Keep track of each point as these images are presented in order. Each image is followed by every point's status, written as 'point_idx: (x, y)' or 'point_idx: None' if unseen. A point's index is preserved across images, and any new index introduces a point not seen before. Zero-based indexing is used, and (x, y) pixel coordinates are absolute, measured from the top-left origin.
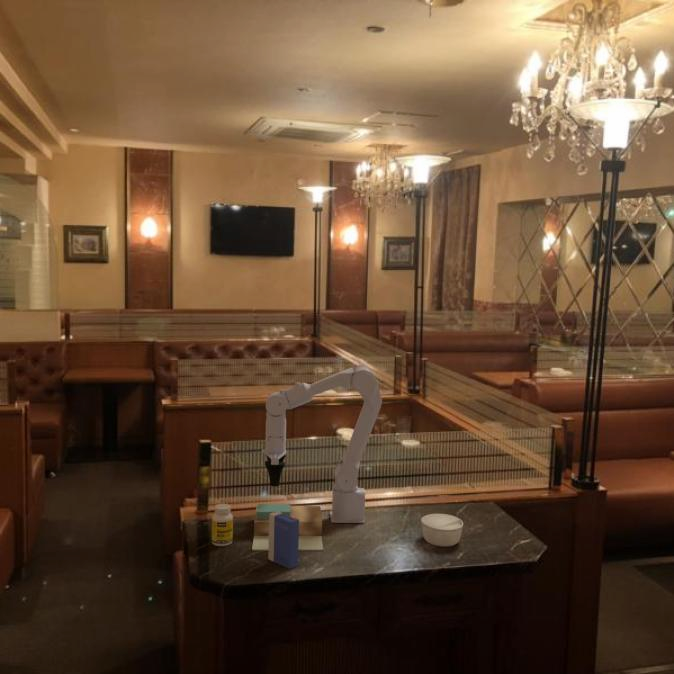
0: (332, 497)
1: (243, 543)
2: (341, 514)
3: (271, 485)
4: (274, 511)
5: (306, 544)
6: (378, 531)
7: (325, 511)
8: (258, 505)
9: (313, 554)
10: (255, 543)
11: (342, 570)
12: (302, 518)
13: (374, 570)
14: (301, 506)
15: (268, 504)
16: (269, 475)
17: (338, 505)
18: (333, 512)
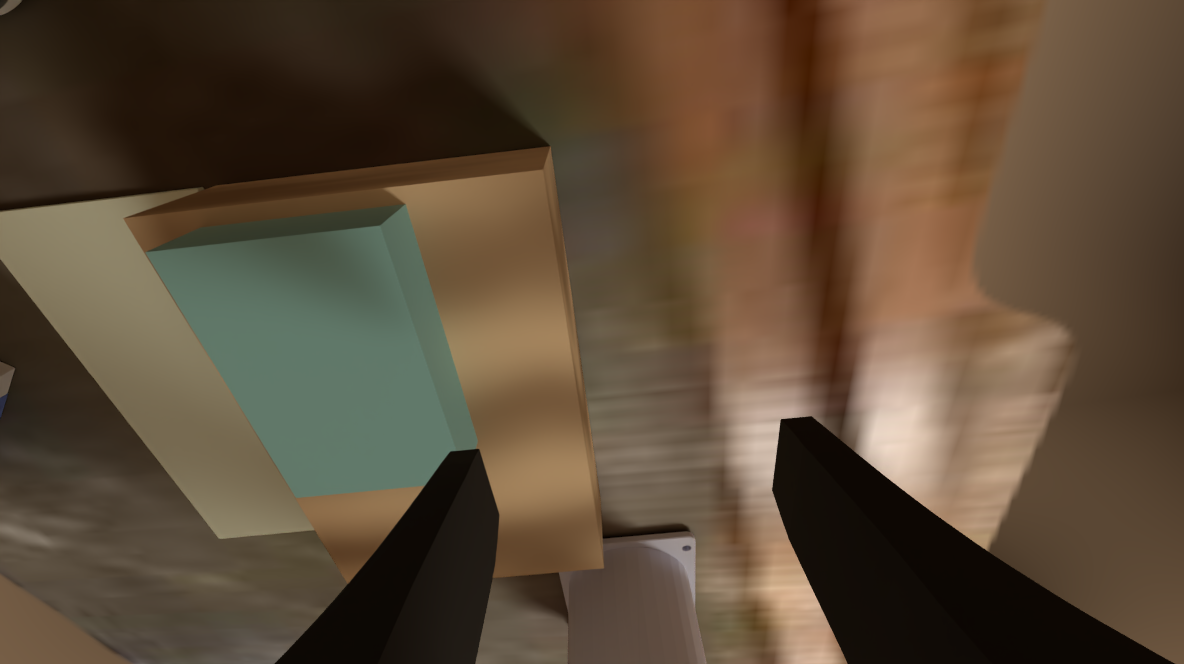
0: (630, 656)
1: (47, 126)
2: (569, 609)
3: (440, 465)
4: (246, 399)
5: (237, 480)
6: (503, 660)
7: (717, 509)
8: (331, 239)
9: (159, 507)
10: (74, 223)
11: (79, 595)
12: (363, 512)
13: (151, 660)
14: (579, 488)
15: (398, 329)
16: (334, 604)
17: (575, 648)
18: (600, 580)
